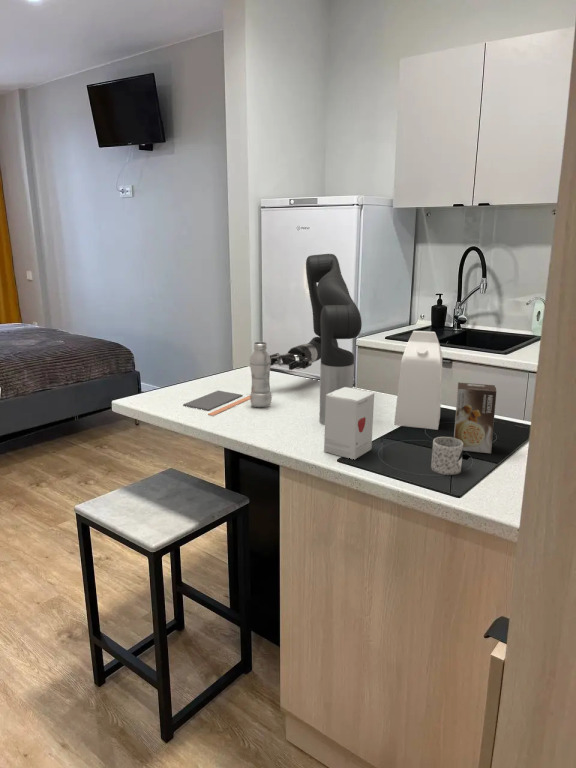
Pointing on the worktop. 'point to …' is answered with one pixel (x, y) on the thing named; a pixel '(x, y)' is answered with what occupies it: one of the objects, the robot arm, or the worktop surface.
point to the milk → (420, 382)
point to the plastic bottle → (260, 376)
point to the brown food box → (475, 416)
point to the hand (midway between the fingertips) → (278, 365)
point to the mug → (447, 455)
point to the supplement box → (348, 422)
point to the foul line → (229, 406)
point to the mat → (213, 400)
